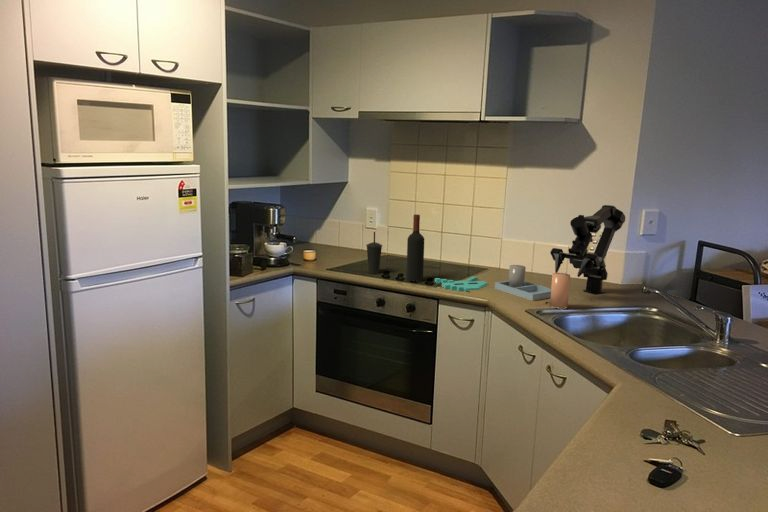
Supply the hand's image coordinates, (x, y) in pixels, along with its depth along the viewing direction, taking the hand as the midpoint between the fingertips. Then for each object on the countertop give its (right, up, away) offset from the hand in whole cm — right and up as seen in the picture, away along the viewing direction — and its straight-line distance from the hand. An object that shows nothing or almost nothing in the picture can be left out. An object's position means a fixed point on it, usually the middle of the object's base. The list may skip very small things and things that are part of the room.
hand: (566, 274), depth 233 cm
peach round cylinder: (-4, -13, -1) cm, 13 cm away
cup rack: (-13, -9, +16) cm, 22 cm away
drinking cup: (-77, -1, +50) cm, 91 cm away
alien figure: (-37, -7, +28) cm, 47 cm away
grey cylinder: (-15, -7, +20) cm, 27 cm away
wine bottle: (-58, -4, +37) cm, 69 cm away
